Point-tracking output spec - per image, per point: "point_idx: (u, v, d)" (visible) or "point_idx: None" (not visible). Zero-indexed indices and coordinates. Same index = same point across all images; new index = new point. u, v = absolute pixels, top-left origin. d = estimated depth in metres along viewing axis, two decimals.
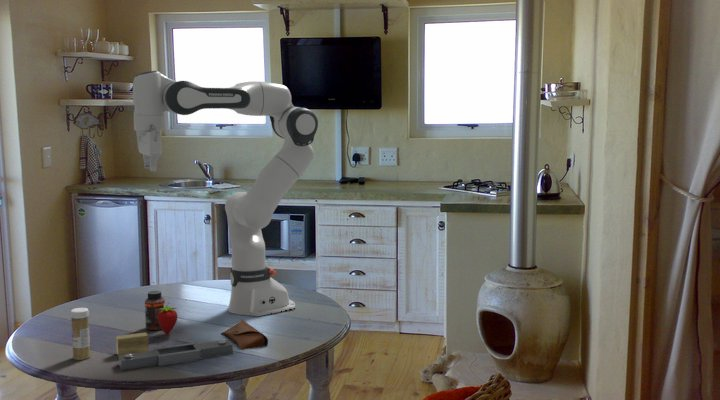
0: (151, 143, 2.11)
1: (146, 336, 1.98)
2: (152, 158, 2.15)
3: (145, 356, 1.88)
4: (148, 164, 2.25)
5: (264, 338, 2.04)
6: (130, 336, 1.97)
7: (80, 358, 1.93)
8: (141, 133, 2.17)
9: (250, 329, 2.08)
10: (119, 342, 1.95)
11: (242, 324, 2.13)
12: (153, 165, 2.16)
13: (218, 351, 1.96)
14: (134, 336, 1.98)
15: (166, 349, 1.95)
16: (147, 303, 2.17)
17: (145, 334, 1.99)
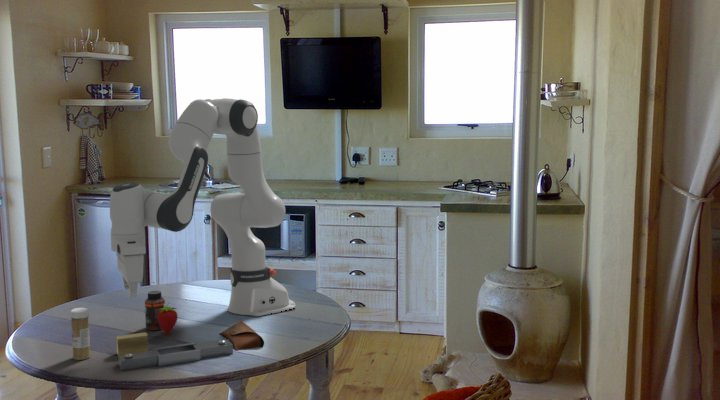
0: None
1: (146, 336, 1.98)
2: None
3: (145, 356, 1.88)
4: None
5: (260, 339, 2.04)
6: (130, 336, 1.97)
7: (80, 358, 1.93)
8: None
9: (247, 330, 2.08)
10: (119, 342, 1.95)
11: (240, 324, 2.12)
12: None
13: (218, 351, 1.96)
14: (134, 336, 1.98)
15: (166, 349, 1.95)
16: (147, 303, 2.17)
17: (145, 334, 1.99)
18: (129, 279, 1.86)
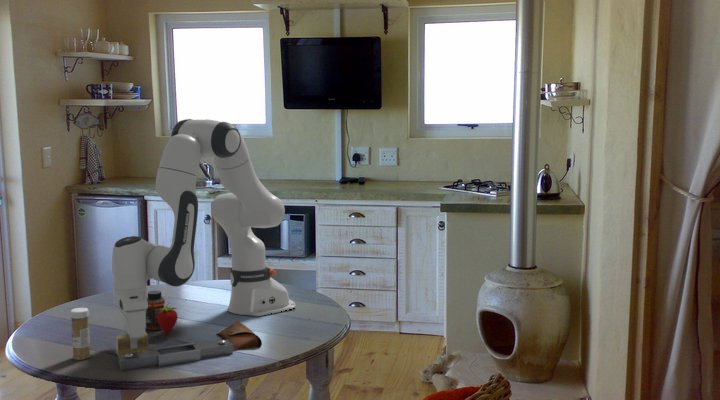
0: None
1: (146, 336, 1.98)
2: None
3: (145, 356, 1.88)
4: None
5: (258, 339, 2.03)
6: None
7: (80, 358, 1.93)
8: None
9: (245, 330, 2.07)
10: (119, 342, 1.95)
11: (237, 325, 2.12)
12: None
13: (218, 351, 1.96)
14: None
15: (166, 349, 1.95)
16: None
17: (145, 334, 1.99)
18: (132, 335, 1.88)
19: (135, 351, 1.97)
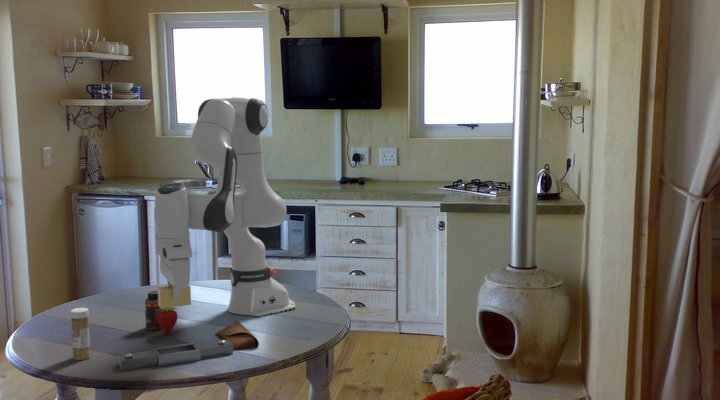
0: None
1: (188, 287, 1.92)
2: None
3: (145, 356, 1.88)
4: None
5: (255, 340, 2.03)
6: (172, 287, 1.91)
7: (80, 358, 1.93)
8: None
9: (242, 330, 2.07)
10: (161, 293, 1.89)
11: (235, 325, 2.12)
12: None
13: (218, 351, 1.96)
14: None
15: (166, 349, 1.95)
16: (147, 303, 2.17)
17: None
18: (176, 284, 1.82)
19: (177, 303, 1.91)
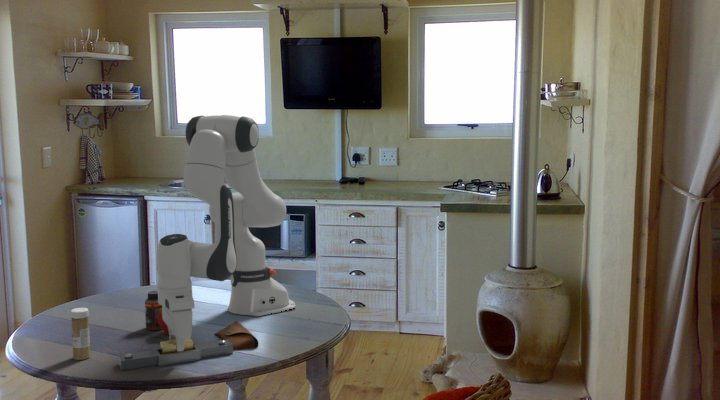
0: None
1: (191, 342, 1.94)
2: None
3: (145, 356, 1.88)
4: None
5: (254, 340, 2.03)
6: (174, 342, 1.93)
7: (80, 358, 1.93)
8: None
9: (242, 330, 2.07)
10: (164, 348, 1.91)
11: (235, 325, 2.12)
12: None
13: (218, 351, 1.96)
14: None
15: None
16: (147, 303, 2.17)
17: (190, 339, 1.95)
18: (179, 335, 1.83)
19: None
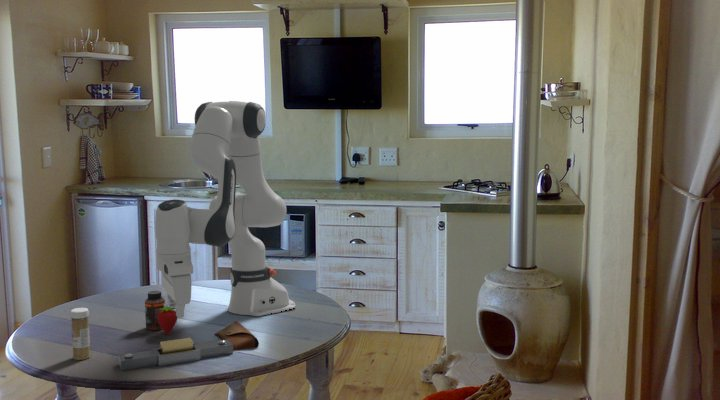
0: None
1: (191, 341, 1.94)
2: None
3: (145, 356, 1.88)
4: None
5: (255, 340, 2.03)
6: (174, 342, 1.93)
7: (80, 358, 1.93)
8: None
9: (242, 330, 2.07)
10: (164, 348, 1.91)
11: (235, 325, 2.12)
12: None
13: (218, 351, 1.96)
14: (179, 341, 1.93)
15: None
16: (147, 303, 2.17)
17: (190, 339, 1.95)
18: (178, 300, 1.82)
19: None
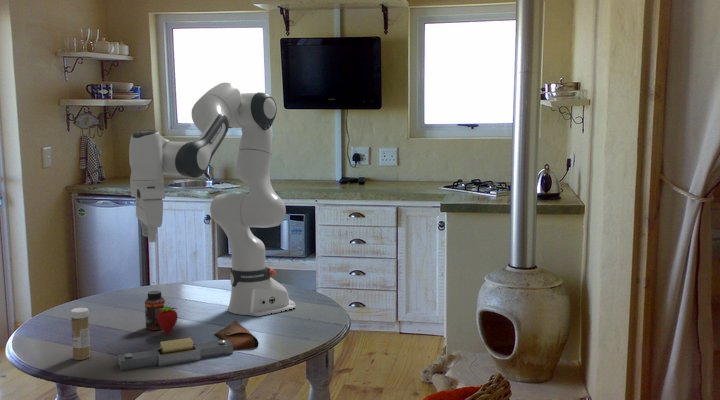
0: None
1: (191, 342, 1.94)
2: None
3: (145, 356, 1.88)
4: None
5: (254, 340, 2.03)
6: (174, 342, 1.93)
7: (80, 358, 1.93)
8: None
9: (242, 330, 2.07)
10: (164, 348, 1.91)
11: (234, 325, 2.12)
12: None
13: (218, 351, 1.96)
14: (179, 341, 1.93)
15: None
16: (147, 303, 2.17)
17: (190, 339, 1.95)
18: (149, 223, 1.89)
19: None
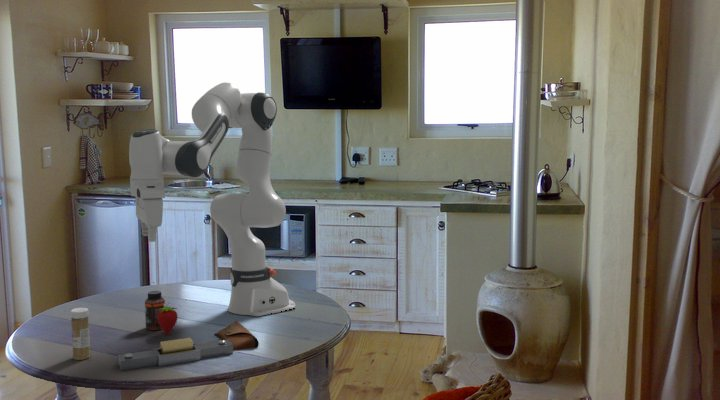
0: None
1: (191, 342, 1.94)
2: None
3: (145, 356, 1.88)
4: None
5: (254, 340, 2.03)
6: (174, 342, 1.93)
7: (80, 358, 1.93)
8: None
9: (242, 330, 2.07)
10: (164, 348, 1.91)
11: (235, 325, 2.12)
12: None
13: (218, 351, 1.96)
14: (179, 341, 1.93)
15: None
16: (147, 303, 2.17)
17: (190, 339, 1.95)
18: (149, 222, 1.89)
19: None
